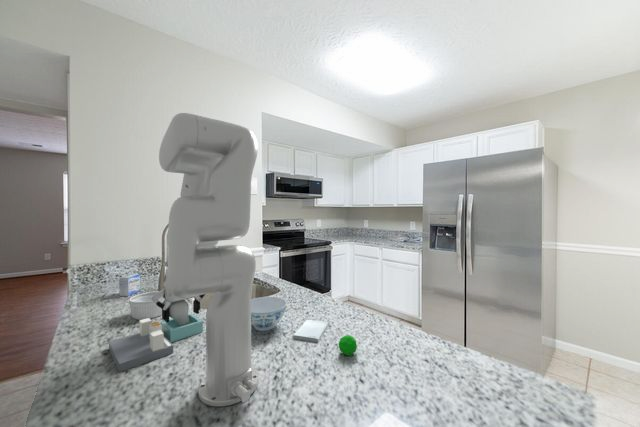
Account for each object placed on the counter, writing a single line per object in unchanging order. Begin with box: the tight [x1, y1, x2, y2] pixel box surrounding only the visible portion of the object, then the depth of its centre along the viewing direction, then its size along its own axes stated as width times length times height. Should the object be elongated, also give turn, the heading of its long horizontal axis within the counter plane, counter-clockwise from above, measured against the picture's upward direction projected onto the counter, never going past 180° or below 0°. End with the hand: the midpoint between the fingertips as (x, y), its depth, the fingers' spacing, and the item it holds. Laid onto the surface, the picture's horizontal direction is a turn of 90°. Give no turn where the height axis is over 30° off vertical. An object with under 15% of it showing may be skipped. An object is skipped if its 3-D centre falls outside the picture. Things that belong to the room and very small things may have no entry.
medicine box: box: [118, 273, 141, 297], centre depth 124 cm, size 8×4×9 cm, turn 179°
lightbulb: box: [168, 299, 190, 326], centre depth 84 cm, size 6×6×11 cm
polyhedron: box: [338, 334, 358, 356], centre depth 71 cm, size 5×5×5 cm
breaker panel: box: [108, 318, 174, 373], centre depth 73 cm, size 16×12×6 cm
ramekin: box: [128, 290, 165, 320], centre depth 99 cm, size 13×13×7 cm
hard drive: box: [292, 319, 329, 343], centre depth 85 cm, size 2×8×12 cm
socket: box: [160, 313, 204, 343], centre depth 84 cm, size 10×10×4 cm
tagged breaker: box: [149, 321, 162, 338], centre depth 76 cm, size 3×2×4 cm
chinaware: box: [251, 296, 288, 332], centre depth 88 cm, size 15×15×8 cm
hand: (181, 316), depth 84 cm, fingers open, 8 cm apart
